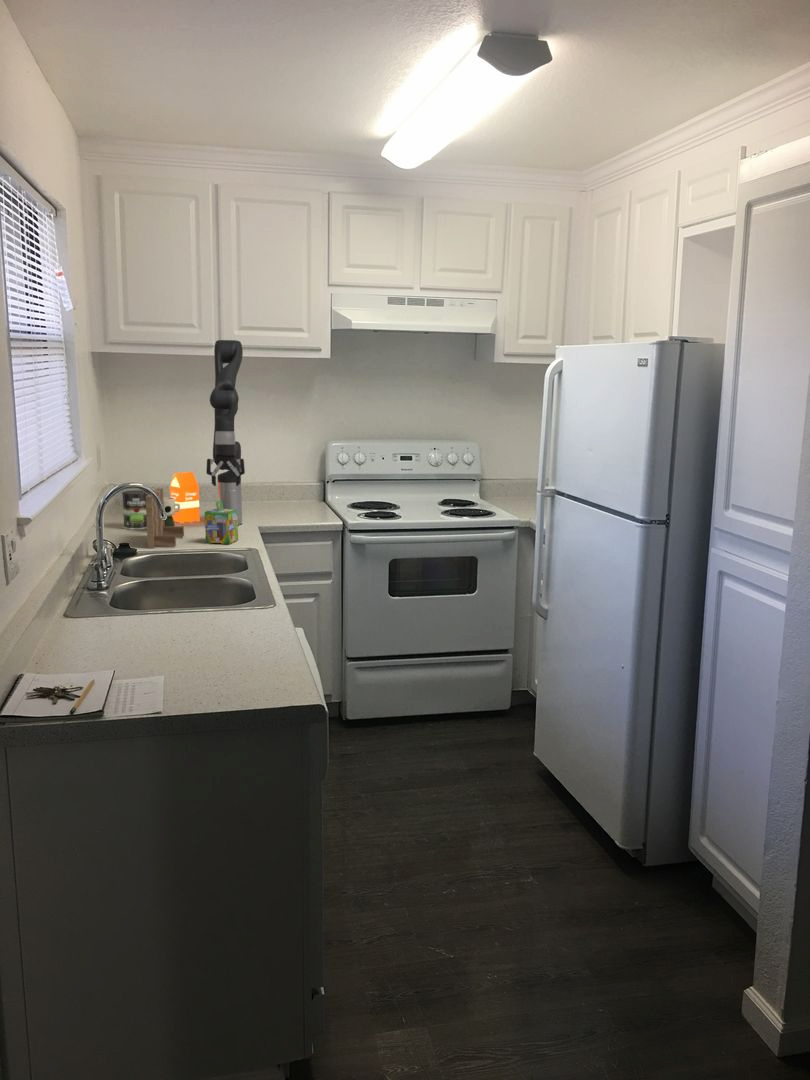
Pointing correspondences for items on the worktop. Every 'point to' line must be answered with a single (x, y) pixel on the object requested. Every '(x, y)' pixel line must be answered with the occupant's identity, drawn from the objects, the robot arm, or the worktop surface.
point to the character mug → (170, 510)
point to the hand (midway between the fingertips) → (226, 485)
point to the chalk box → (221, 525)
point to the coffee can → (134, 510)
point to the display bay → (160, 525)
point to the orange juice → (185, 497)
